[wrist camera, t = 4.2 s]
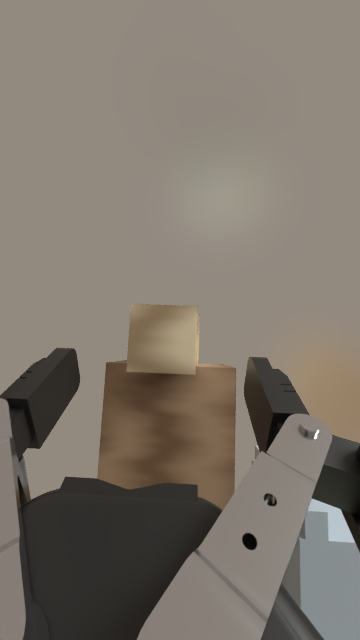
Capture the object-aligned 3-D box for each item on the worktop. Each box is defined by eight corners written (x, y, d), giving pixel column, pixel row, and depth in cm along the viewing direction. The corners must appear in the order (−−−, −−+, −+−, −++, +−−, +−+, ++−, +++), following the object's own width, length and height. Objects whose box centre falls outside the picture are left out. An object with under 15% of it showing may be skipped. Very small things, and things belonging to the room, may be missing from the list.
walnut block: (65, 889, 16) (106, 362, 20) (101, 726, 23) (126, 360, 27) (228, 905, 16) (236, 368, 20) (215, 735, 23) (223, 364, 27)
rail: (113, 370, 12) (120, 279, 13) (153, 361, 27) (155, 319, 27) (208, 375, 12) (210, 282, 12) (195, 363, 27) (197, 321, 27)
